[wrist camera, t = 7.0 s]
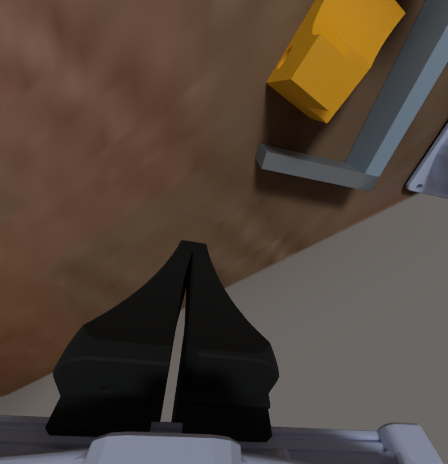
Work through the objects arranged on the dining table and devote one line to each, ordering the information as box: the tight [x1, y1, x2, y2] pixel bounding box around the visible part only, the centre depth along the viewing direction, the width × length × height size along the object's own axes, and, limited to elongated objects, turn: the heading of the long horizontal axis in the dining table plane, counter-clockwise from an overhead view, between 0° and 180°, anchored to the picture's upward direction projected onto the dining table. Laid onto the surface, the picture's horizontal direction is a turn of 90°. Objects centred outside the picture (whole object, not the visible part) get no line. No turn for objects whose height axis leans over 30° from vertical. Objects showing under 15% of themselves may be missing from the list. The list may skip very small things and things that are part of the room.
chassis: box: [256, 0, 448, 191], centre depth 13 cm, size 9×18×3 cm, turn 168°
